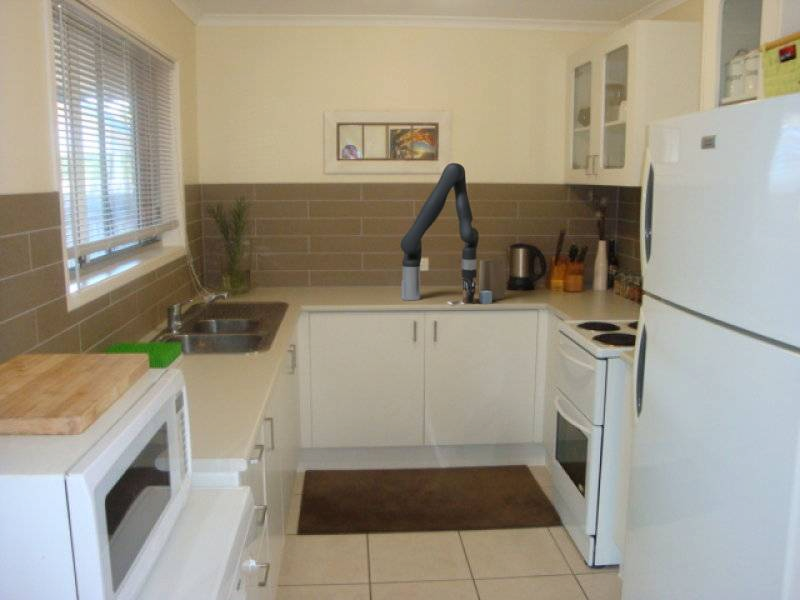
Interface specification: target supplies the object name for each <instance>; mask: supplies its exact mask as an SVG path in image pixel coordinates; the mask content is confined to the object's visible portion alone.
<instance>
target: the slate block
mask: <svg viewBox="0 0 800 600" xmlns="http://www.w3.org/2000/svg"><path fill="white" fill-rule="evenodd" d="M492 303H493V300H492V292H491V291H488V290H486V291H480V297H479V304H483V305H488V304H489V305H490V304H492Z"/></svg>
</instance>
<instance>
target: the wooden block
mask: <svg viewBox="0 0 800 600" xmlns="http://www.w3.org/2000/svg"><path fill="white" fill-rule="evenodd" d="M506 263H507V262H506V261H505V260H502V259H496V258H489V259H481V260H479V268H478V270H479V277H478V278H479V281H478V282H479V283H478V298H480V291H486V290H488V291H491V292H492V301H497V300H504V299H505V298H506V267H507V266H506Z"/></svg>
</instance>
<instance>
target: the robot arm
mask: <svg viewBox="0 0 800 600" xmlns="http://www.w3.org/2000/svg"><path fill="white" fill-rule="evenodd" d="M466 181H467V178H466V170H465V168H464V166H463V165H462V164H460V163H455V162H451V163H448V164H446V166H445V168H444V169H443V171H442V173H441V175H440V177H439V180H438V181H437V183H436V185H435V187H434V188H433V189H432V191H431V193H430V194H429V196H428V197H427V199H426V201H425V202H424V204H423V205H422V206H421V209H420V210H419V212H418V214H417V216H416V217H415V218H416V219H415V220H414V222H413V224H412V226H410V228H409V230H408V231H407V233H406V234H404V236H403V237H402V239H401V241H400V248H401V251H402V252H404V253H403V258H402V261H401V262H402V263H401V265H402V269H401V271H402V273H401V274H402V277H401V278H402V279H401V283H400V284H401V285H400V286H401V289H400V290H401V299H402V300H404V301H419V300H421V261H422V250H423V249H422V248H423V247H422V246H423V245H422V244H423V243H422V238H423V236H424V235H425V233H426V232H427V230H429V228H431V226H432V225H433V224H434V223H435V221H436V220H438V218H439V216H440V214H441V213H442V211H443V210H444V208H445V205H446V203H447V198H448V195H449V193H450V192H451V190H452V188H453V190H454V198H455V209H456V215H457V218H458V229H459V230H458V231H459V237H460V239H461V241H463V243H465V244H464V247H463V248H462V254H461V259H462V260H461V278H462V291H463V290H467V291H468V294H469V299H468V301H469V302H473V295H474V296H475V294H476V282H474V279H476V278H477V270H478V268H477V266H478V263H477V248H478V243H479V239H480V238H479V231H478V230H477V228H475V227H472V222H473V220H474V217H473V213H472V209H471V205H470V200H469V194H468V191H467V182H466ZM471 291H472V292H471Z"/></svg>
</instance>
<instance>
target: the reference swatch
mask: <svg viewBox="0 0 800 600" xmlns="http://www.w3.org/2000/svg"><path fill="white" fill-rule="evenodd" d="M446 303H447V304H448V305H450V306H459V305H460V306H461V305H463V306H464V305H465V303H464V302H463V301H461V300H460V301H459V300H455V301H453V300H452V301H447V302H446Z"/></svg>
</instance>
